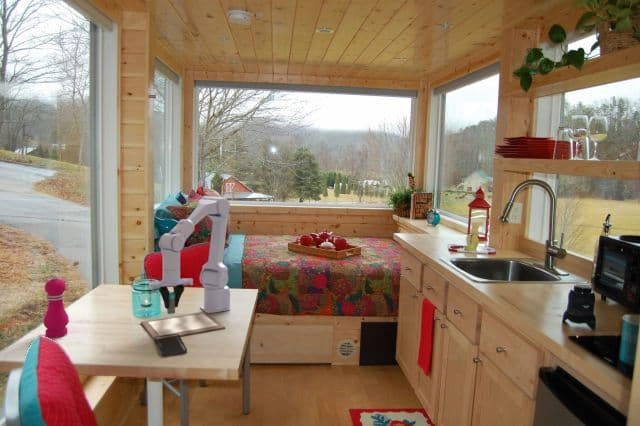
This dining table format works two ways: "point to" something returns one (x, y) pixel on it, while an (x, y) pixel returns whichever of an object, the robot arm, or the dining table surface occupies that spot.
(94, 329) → the dining table surface
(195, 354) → the dining table surface
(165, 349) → the phone
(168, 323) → the drawing pad
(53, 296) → the pepper mill
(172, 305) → the marker
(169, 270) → the robot arm
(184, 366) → the dining table surface
